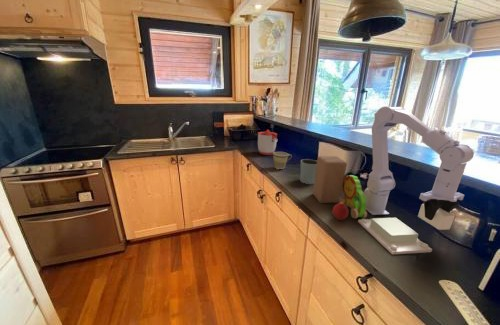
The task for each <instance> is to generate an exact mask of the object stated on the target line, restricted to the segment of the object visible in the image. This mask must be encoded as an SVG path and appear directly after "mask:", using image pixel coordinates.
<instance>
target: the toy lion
mask: <svg viewBox="0 0 500 325" xmlns="http://www.w3.org/2000/svg"><path fill="white" fill-rule="evenodd" d="M363 192H364V190H363V189H362V185H361V180H360V179H359V177H358V176H356V175H353V174H350V175H345V176H344V182H343V187H342V193H343V197H341V198H340V199H339V202H338V204H339V203H340V202H343V203H344V204H345V205H346V206H347V207H349V208H350V216H351V218H353V219H358V218H361V219H367V217H368V211H367V210H366V197H365V194H364V193H363Z"/></svg>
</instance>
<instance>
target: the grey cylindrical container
mask: <svg viewBox="0 0 500 325" xmlns="http://www.w3.org/2000/svg"><path fill="white" fill-rule="evenodd" d="M316 167H317V159H316V160H315V159H311V158H310V159H309V158H305V159H301V160H300V172H299V173H300V177H299V180H300V181H299V182H301V183H302V184H304V183H305V184H306V185H314V181H315V174H316Z"/></svg>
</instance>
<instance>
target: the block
mask: <svg viewBox="0 0 500 325" xmlns="http://www.w3.org/2000/svg"><path fill="white" fill-rule="evenodd" d="M316 161H317V167H316V174H315V181H314V184H313V188H312V189H313V191H312V194H313V196H314V197H315V198H316V199H317V201H318V202H319V203H324V204H325V203H326V204H327V203H328V204H329V203H331V204H333V203H335V204H339V199H340V198H342V197H341V196H342V193H343V188H342V187H343V182H344V178H345V176H346V175H345V174H346V171H347V162H346V161H345V160H344V159H341V158H340V157H339V156H330V155H329V156H327V155H326V156H325V155H324V156H322V155H320V156H317V159H316Z"/></svg>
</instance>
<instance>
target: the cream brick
mask: <svg viewBox="0 0 500 325" xmlns="http://www.w3.org/2000/svg"><path fill="white" fill-rule="evenodd" d="M417 218H419V219H421V220H422V221H424V222H426V223H427V224H429V225H431V226H432V227H434V228H435V229H437V230H439V231H443V230H444V231H445V230H451V227H452V225H453V222H454V219H455V215H454V214H451V212H450V213H448V212H446V211H444V210H442V209H441V208H439V209H438V210H437V212H436V214H435V216H434V218H433V219H432V220H429V219H427V218H426V217H425V208H424V204H423V203H422V204H421V205H420V209H419V212H418V215H417Z"/></svg>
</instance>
